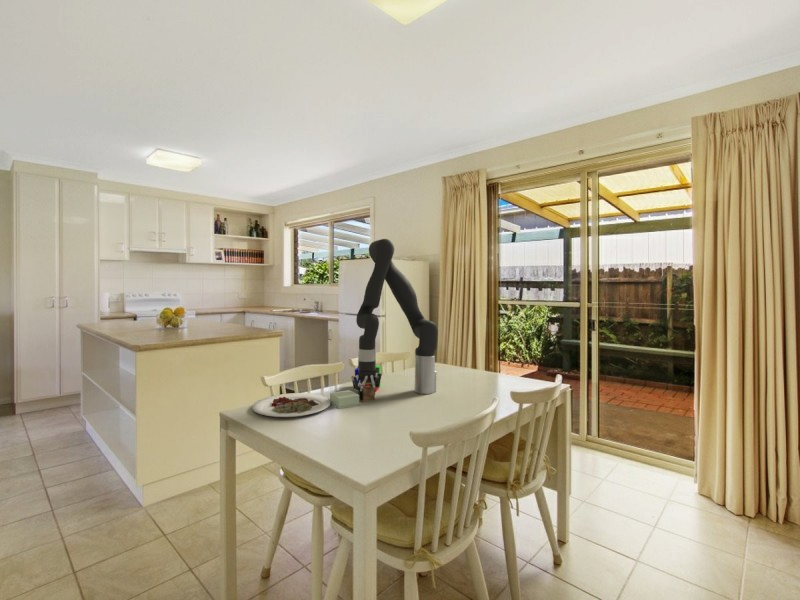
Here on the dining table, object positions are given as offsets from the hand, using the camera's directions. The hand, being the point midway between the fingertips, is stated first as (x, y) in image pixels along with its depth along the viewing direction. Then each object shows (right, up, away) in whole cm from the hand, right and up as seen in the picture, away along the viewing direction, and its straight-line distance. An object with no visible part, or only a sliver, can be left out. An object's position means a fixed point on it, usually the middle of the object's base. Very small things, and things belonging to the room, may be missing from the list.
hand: (366, 398), depth 176 cm
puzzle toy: (-1, 0, +17) cm, 18 cm away
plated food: (-29, -1, -13) cm, 31 cm away
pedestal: (-9, -1, -7) cm, 11 cm away
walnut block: (0, 0, 0) cm, 0 cm away
